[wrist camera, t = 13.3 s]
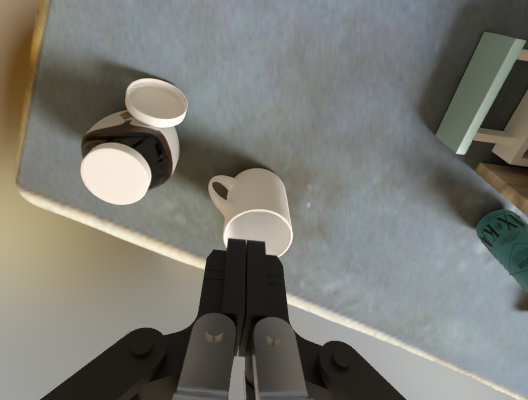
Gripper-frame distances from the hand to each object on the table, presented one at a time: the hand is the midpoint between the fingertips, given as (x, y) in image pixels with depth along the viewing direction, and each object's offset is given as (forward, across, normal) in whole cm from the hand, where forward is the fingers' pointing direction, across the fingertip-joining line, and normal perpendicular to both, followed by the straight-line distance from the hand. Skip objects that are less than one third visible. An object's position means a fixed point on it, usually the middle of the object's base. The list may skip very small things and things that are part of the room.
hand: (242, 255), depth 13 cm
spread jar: (+32, +12, +8) cm, 35 cm away
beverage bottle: (+32, -42, +17) cm, 56 cm away
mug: (+32, -2, +16) cm, 36 cm away
